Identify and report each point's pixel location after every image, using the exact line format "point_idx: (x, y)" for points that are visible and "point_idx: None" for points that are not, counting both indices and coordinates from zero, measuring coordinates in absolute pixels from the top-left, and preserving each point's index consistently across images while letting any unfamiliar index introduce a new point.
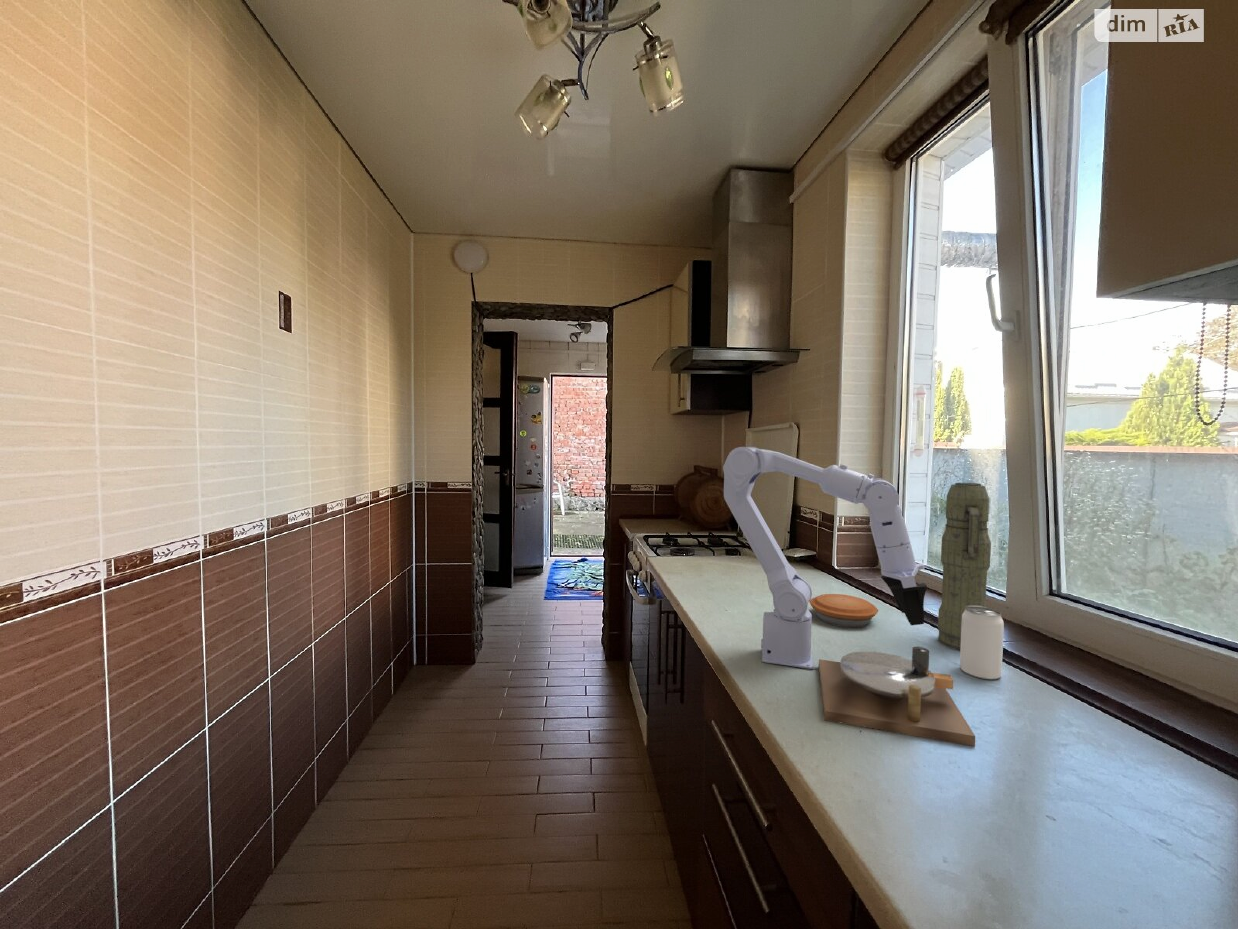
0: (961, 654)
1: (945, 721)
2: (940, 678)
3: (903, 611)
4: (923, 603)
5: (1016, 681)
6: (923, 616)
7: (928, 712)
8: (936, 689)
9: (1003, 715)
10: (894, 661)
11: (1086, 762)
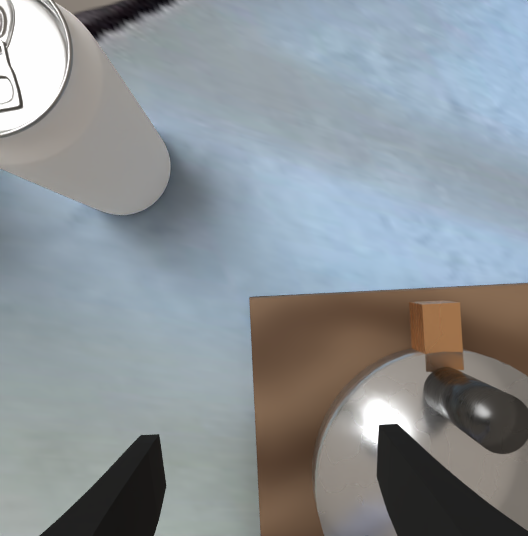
0: (109, 206)
1: (516, 331)
2: (461, 337)
3: (163, 485)
4: (502, 513)
5: (147, 92)
6: (422, 448)
7: None
8: (346, 318)
9: (369, 185)
10: None
11: (512, 92)
